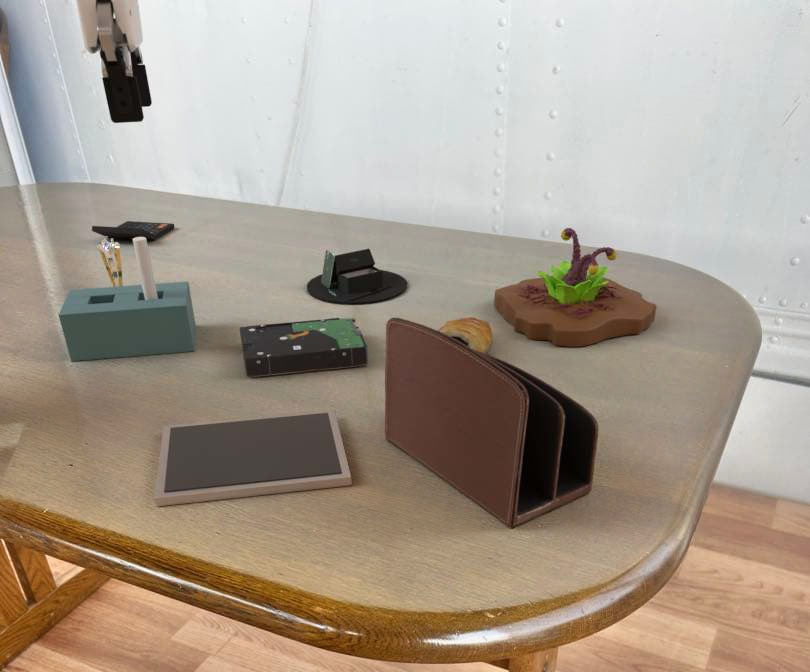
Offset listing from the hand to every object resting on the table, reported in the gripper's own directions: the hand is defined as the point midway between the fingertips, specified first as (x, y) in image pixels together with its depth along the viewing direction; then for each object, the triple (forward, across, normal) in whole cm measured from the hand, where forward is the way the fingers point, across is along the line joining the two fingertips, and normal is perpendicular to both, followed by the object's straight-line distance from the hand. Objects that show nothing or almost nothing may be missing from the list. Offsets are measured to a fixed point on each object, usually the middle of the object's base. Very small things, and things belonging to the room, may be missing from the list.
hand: (133, 113), depth 86 cm
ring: (+27, -23, -10) cm, 37 cm away
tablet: (+27, +28, +9) cm, 40 cm away
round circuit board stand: (+28, -20, +25) cm, 42 cm away
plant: (+28, -2, +52) cm, 59 cm away
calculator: (+27, -54, -11) cm, 62 cm away
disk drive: (+27, +4, +15) cm, 32 cm away
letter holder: (+27, +34, +31) cm, 54 cm away
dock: (+27, -4, -6) cm, 28 cm away
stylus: (+27, -4, -3) cm, 27 cm away
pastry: (+28, +6, +35) cm, 45 cm away
